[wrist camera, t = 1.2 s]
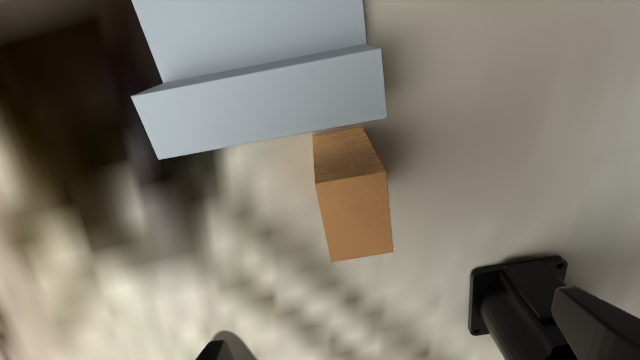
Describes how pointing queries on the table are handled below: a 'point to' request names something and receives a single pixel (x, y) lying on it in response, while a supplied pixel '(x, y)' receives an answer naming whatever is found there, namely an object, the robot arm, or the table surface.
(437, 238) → the table surface
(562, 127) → the table surface
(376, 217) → the brown wooden block
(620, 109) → the table surface
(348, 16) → the bracket
